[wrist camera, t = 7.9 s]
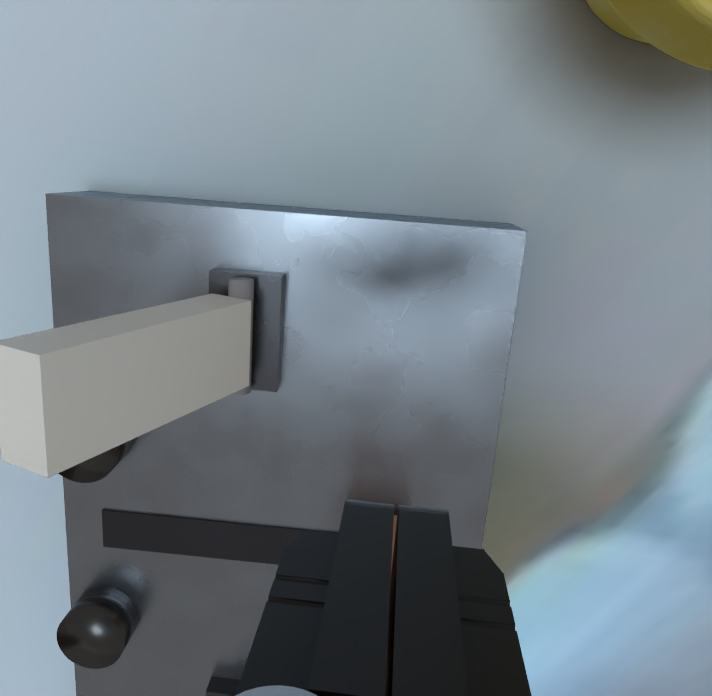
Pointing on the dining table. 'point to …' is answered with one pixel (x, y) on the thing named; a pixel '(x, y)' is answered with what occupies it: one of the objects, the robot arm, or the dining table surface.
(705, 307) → the dining table surface
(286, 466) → the panel
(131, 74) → the dining table surface
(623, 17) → the plant pot
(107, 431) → the lever
